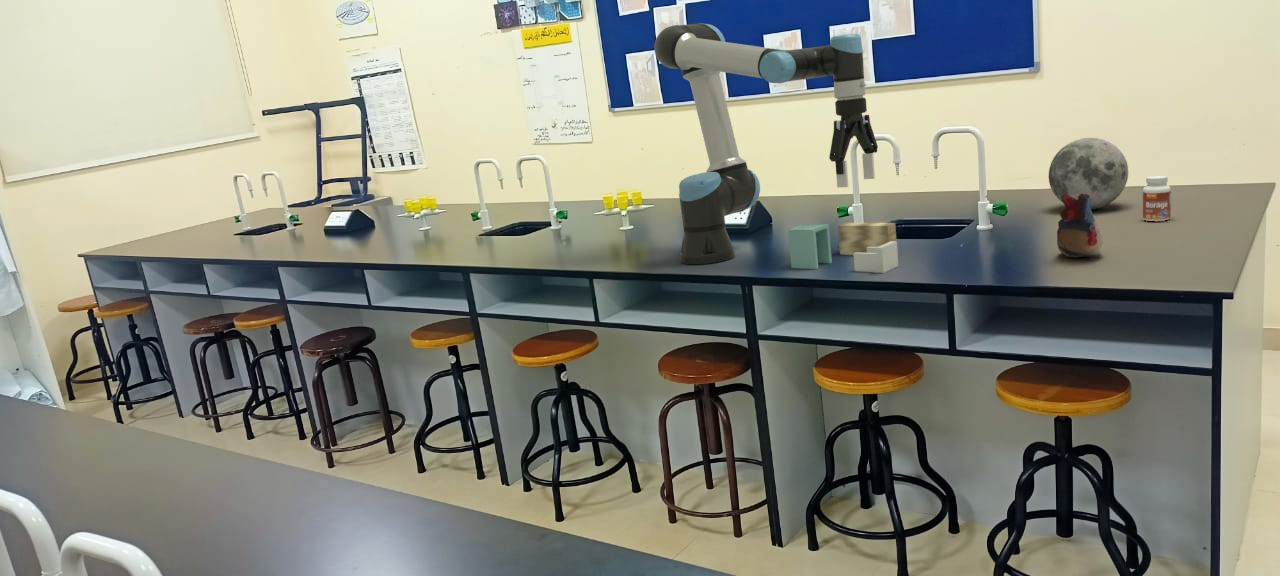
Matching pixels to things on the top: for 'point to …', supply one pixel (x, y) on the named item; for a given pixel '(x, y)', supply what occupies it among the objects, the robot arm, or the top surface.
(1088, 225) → the anatomical model
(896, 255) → the white stepped block
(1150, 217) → the pill bottle
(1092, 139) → the moon model
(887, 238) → the wooden block
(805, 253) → the cap
